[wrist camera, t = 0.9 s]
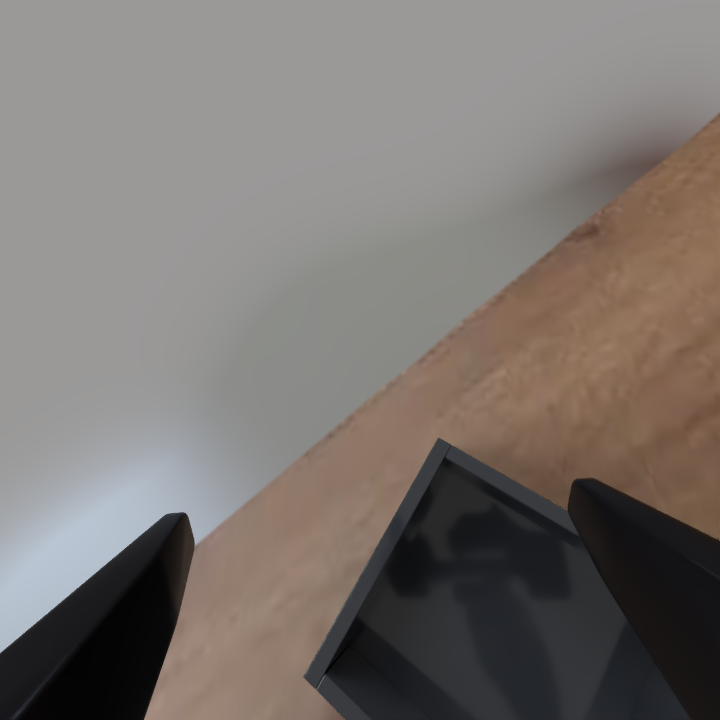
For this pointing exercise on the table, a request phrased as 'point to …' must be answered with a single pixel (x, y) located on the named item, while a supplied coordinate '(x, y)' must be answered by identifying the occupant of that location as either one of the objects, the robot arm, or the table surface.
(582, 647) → the open storage bin
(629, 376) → the table surface
